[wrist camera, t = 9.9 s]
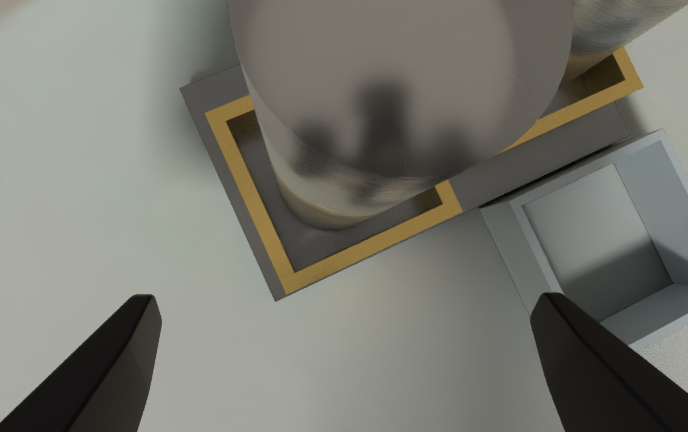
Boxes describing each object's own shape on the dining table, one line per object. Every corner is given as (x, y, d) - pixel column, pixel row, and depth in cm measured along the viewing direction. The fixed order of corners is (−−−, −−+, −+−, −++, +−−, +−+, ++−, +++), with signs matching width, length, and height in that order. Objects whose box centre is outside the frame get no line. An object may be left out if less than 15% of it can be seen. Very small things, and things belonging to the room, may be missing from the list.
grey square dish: (549, 358, 20) (592, 376, 17) (478, 208, 20) (508, 201, 17) (684, 287, 21) (746, 292, 18) (613, 145, 21) (664, 127, 18)
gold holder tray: (276, 299, 19) (271, 307, 16) (185, 96, 20) (164, 68, 17) (615, 140, 21) (665, 121, 18) (526, -40, 22) (561, -87, 19)
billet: (333, 253, 18) (414, 253, 6) (253, 174, 18) (147, -11, 6) (409, 175, 19) (637, 13, 6) (332, 98, 19) (401, -225, 6)
